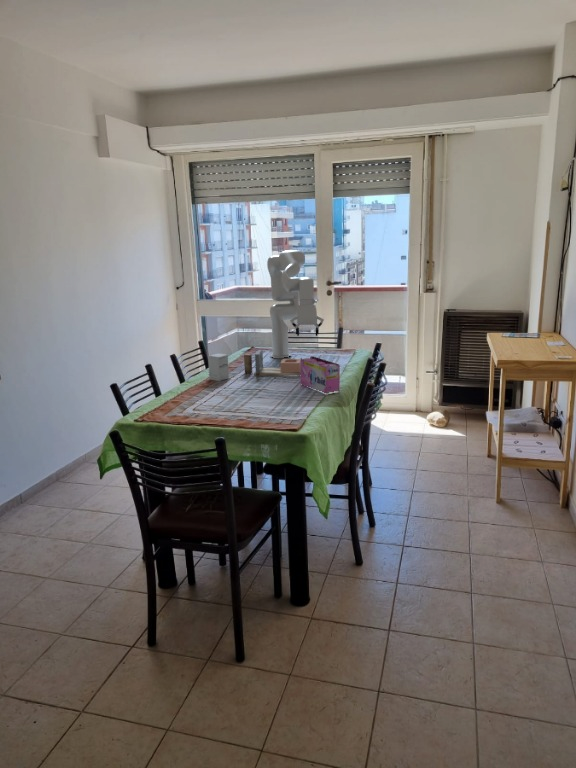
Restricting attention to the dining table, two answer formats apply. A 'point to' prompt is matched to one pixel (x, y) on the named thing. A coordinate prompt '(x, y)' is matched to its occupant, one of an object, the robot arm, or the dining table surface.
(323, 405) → the dining table surface
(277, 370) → the board
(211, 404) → the dining table surface
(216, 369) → the supplement box
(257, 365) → the wall
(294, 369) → the carriage
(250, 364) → the dowel
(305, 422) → the dining table surface
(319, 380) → the gum box
